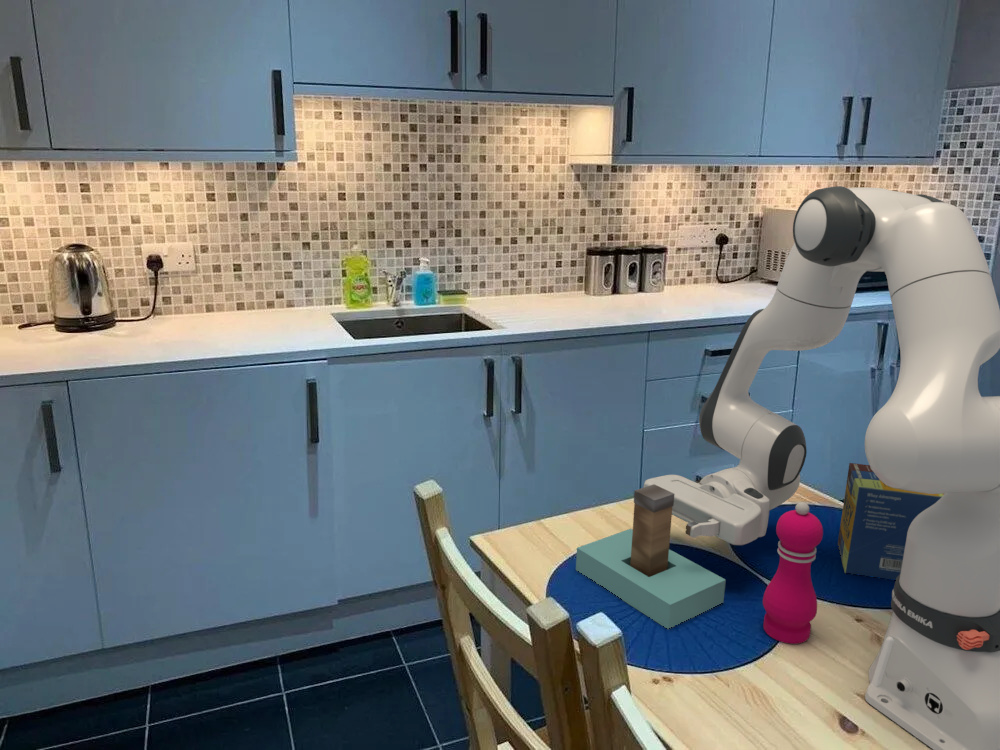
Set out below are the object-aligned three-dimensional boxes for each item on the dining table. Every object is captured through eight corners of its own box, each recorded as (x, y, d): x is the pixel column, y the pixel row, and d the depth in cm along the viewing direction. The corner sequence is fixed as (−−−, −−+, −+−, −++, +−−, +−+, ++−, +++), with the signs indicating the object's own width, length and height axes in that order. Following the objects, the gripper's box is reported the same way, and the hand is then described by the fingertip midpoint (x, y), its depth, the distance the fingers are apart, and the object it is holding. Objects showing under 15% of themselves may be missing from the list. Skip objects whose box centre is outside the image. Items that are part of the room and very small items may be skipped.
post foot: (723, 603, 121) (725, 579, 120) (668, 629, 114) (670, 604, 113) (629, 549, 136) (630, 528, 135) (575, 570, 130) (576, 547, 129)
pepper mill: (748, 623, 116) (763, 496, 110) (787, 612, 119) (804, 488, 113) (784, 651, 110) (801, 518, 104) (824, 639, 112) (843, 509, 107)
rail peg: (666, 588, 125) (674, 493, 120) (647, 596, 122) (654, 500, 118) (647, 576, 128) (654, 484, 124) (628, 584, 126) (634, 490, 121)
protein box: (836, 544, 139) (848, 461, 135) (933, 557, 136) (949, 472, 131) (843, 574, 130) (857, 486, 125) (948, 589, 126) (966, 498, 122)
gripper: (677, 460, 139) (619, 478, 131) (778, 502, 123) (719, 526, 115) (674, 493, 141) (617, 513, 133) (773, 539, 125) (715, 565, 117)
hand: (665, 519), depth 124 cm, fingers open, 8 cm apart
